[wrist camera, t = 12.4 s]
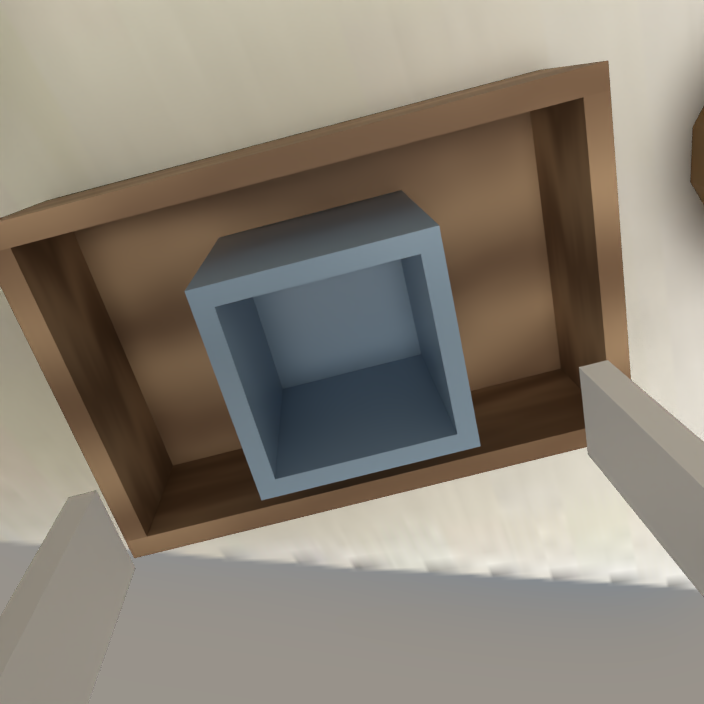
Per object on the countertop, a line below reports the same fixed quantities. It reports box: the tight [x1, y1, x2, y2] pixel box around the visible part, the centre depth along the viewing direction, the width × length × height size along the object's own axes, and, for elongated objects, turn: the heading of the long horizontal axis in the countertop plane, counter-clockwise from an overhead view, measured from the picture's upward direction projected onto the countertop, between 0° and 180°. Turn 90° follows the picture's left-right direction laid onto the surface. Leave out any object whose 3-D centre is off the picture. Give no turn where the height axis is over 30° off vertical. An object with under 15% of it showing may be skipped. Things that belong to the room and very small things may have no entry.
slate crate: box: [184, 190, 481, 500], centre depth 27 cm, size 9×9×9 cm
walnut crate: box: [0, 61, 631, 558], centre depth 29 cm, size 16×24×7 cm, turn 104°
